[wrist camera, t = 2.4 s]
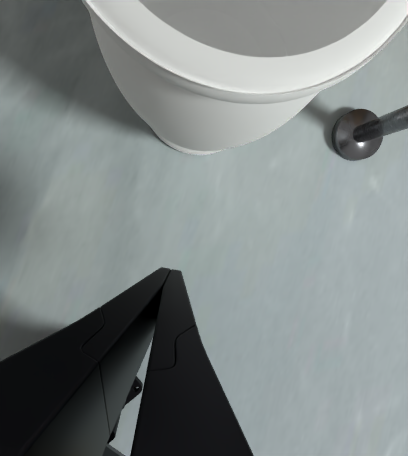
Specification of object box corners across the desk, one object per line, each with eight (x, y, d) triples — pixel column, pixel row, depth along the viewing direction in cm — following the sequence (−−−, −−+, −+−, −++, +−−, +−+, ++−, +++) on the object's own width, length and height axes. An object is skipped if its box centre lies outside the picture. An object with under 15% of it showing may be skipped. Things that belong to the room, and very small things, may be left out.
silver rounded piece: (350, 172, 23) (487, 147, 13) (321, 129, 23) (442, 70, 13) (385, 143, 23) (547, 97, 13) (358, 100, 23) (506, 18, 13)
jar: (127, 164, 21) (23, 71, 6) (129, 23, 20) (16, -478, 5) (259, 172, 22) (435, 111, 8) (267, 40, 21) (483, -324, 7)
